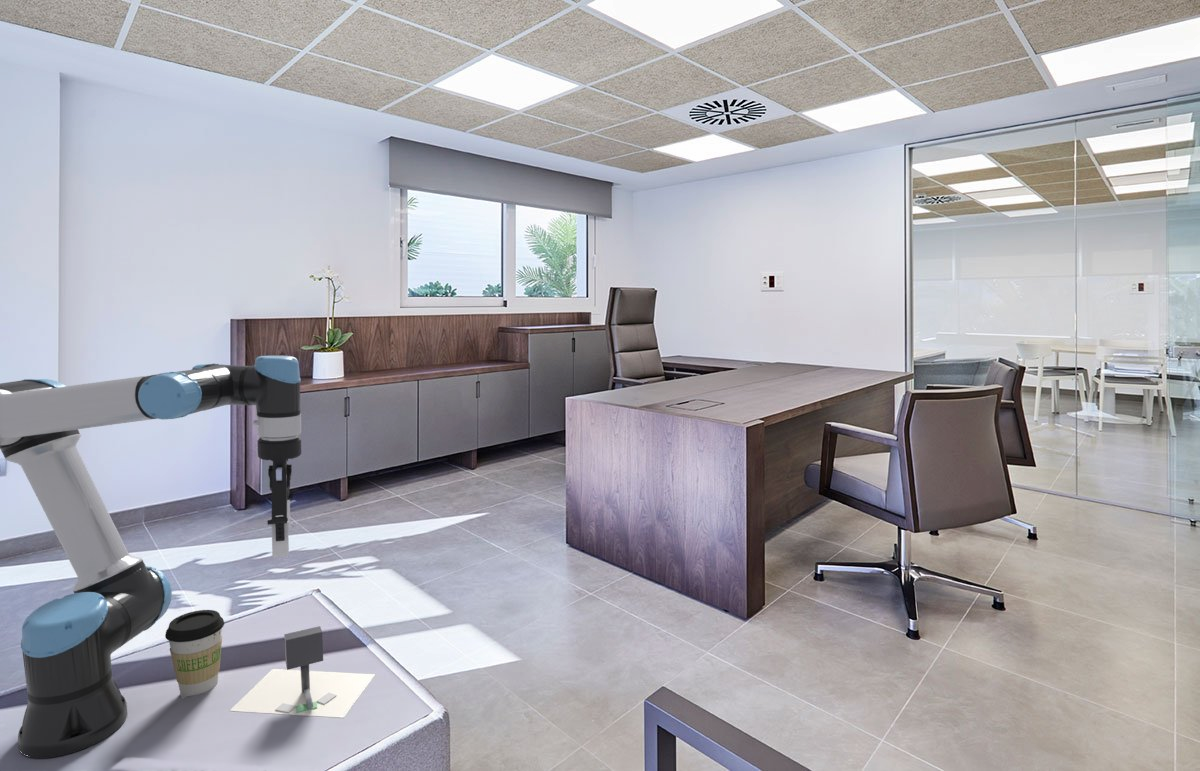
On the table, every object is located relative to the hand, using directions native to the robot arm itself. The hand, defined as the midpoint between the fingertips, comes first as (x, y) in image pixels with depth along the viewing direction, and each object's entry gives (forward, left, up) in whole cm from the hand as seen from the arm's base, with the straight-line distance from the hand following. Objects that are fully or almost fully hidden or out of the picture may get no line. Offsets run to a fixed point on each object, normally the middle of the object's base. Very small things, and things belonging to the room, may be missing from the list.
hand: (282, 543), depth 124 cm
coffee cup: (-17, -2, -31) cm, 35 cm away
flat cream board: (+5, -2, -30) cm, 31 cm away
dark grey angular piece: (+7, -5, -29) cm, 30 cm away
